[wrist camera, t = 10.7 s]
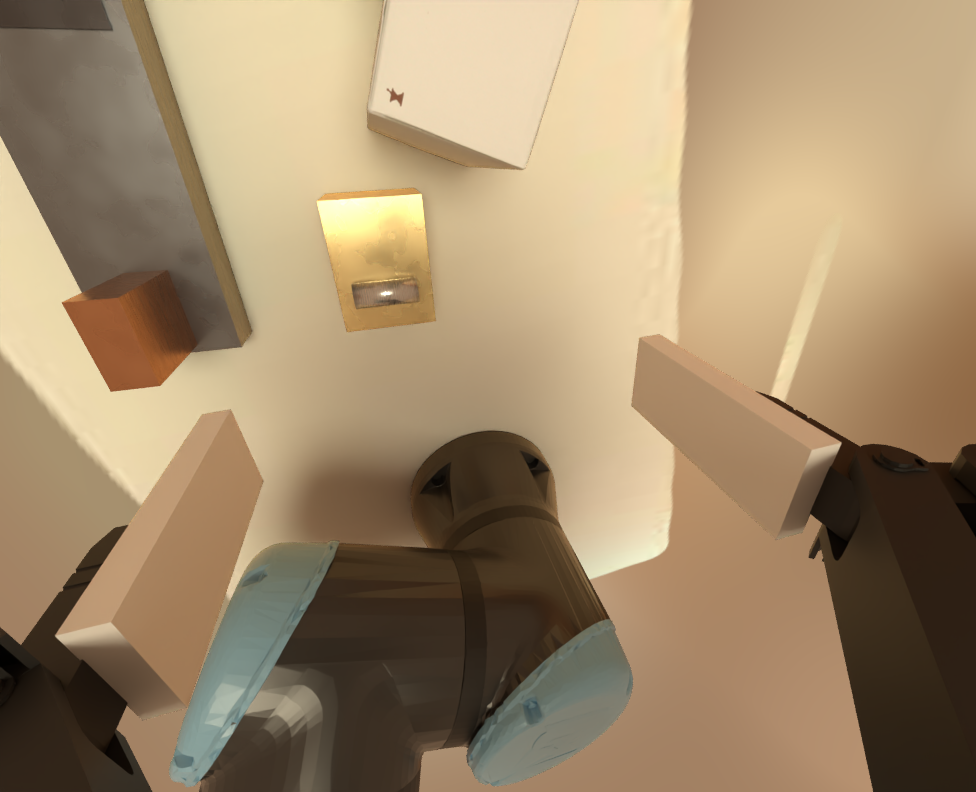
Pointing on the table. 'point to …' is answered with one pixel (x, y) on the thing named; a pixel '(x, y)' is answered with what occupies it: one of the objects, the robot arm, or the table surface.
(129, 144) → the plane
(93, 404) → the table surface
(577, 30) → the table surface
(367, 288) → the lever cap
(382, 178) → the table surface
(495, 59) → the supplement box
